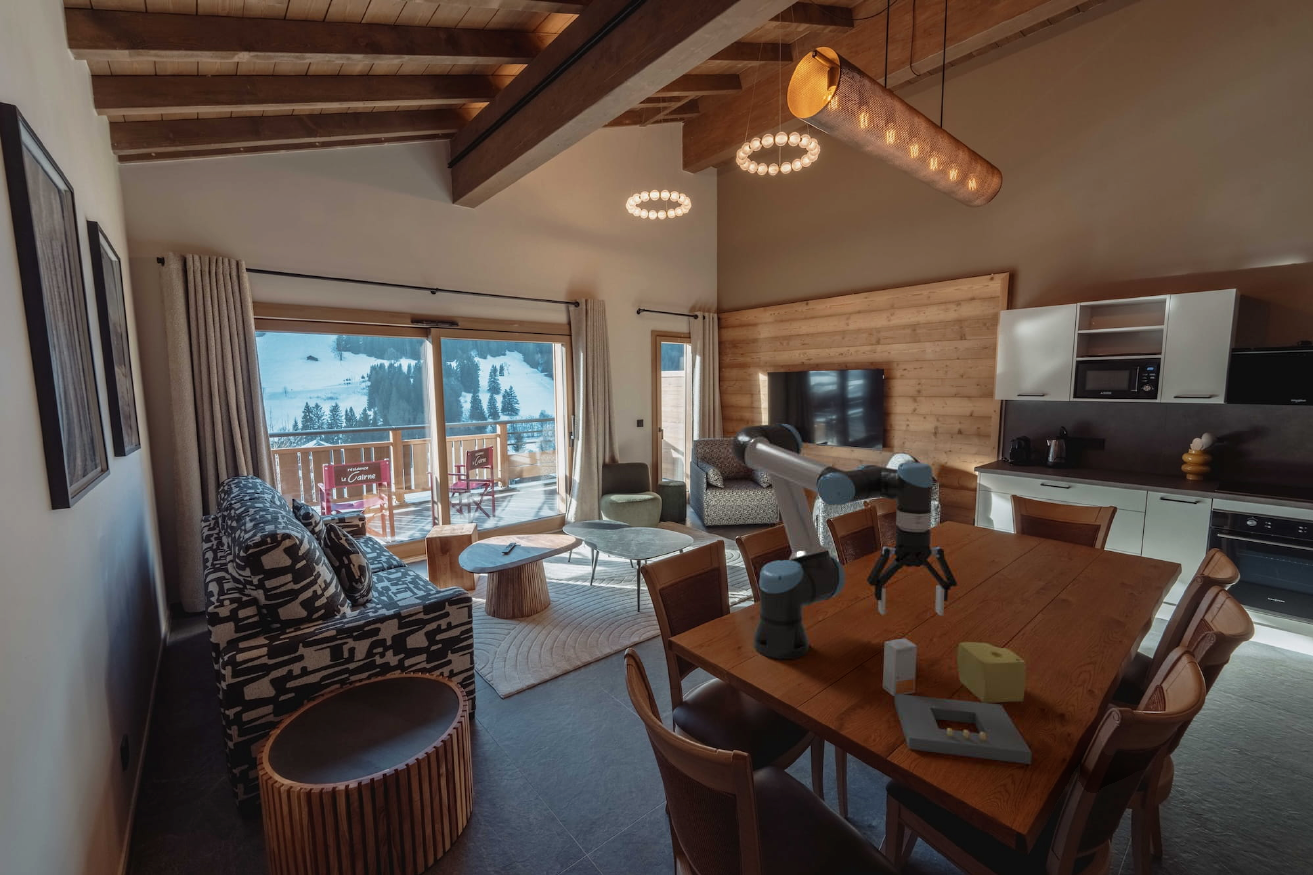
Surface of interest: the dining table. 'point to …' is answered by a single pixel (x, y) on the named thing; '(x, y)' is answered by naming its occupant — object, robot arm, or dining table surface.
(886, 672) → the skincare box
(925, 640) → the dining table surface
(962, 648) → the cheese
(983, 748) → the grey frame plate
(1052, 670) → the dining table surface
